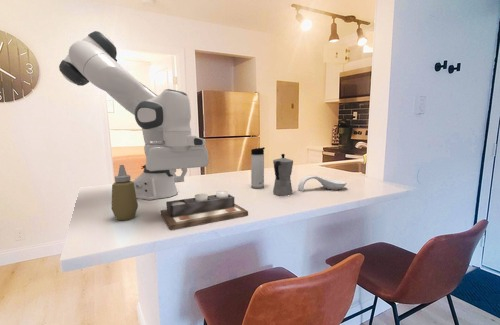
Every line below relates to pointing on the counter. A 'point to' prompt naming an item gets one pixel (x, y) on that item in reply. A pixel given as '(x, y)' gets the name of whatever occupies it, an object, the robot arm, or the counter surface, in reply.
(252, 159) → the travel mug
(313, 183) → the counter surface
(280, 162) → the coffeepot
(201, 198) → the button middle
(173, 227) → the button board
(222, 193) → the button right
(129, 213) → the squeeze bottle
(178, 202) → the button left
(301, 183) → the spoon rest
